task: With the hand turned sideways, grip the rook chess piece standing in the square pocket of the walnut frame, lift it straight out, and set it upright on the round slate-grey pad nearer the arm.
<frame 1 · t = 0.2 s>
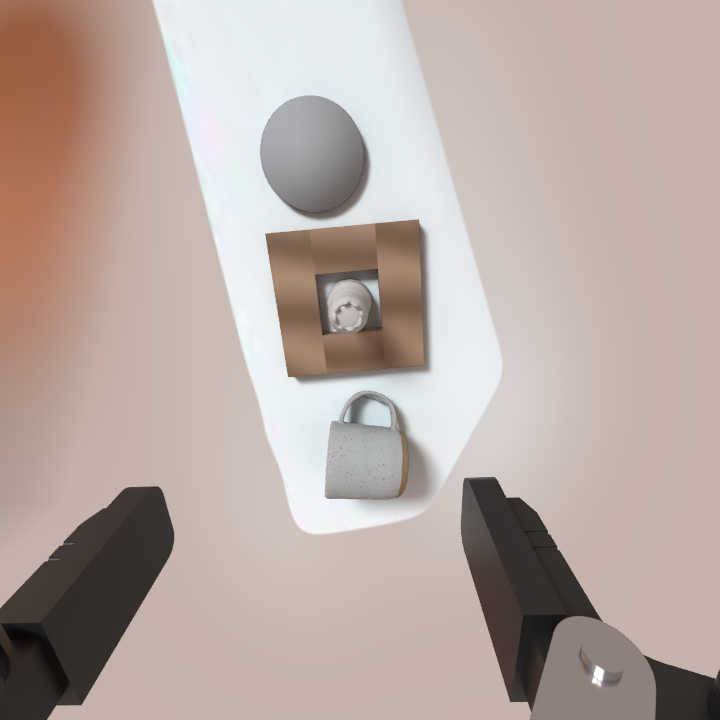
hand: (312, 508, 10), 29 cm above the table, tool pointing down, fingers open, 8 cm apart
walnut frame: (349, 301, 37), on the table
rook chess piece: (349, 300, 37), resting in walnut frame
slate-grey pad: (313, 158, 33), on the table
ceramic mug: (362, 430, 42), on the table
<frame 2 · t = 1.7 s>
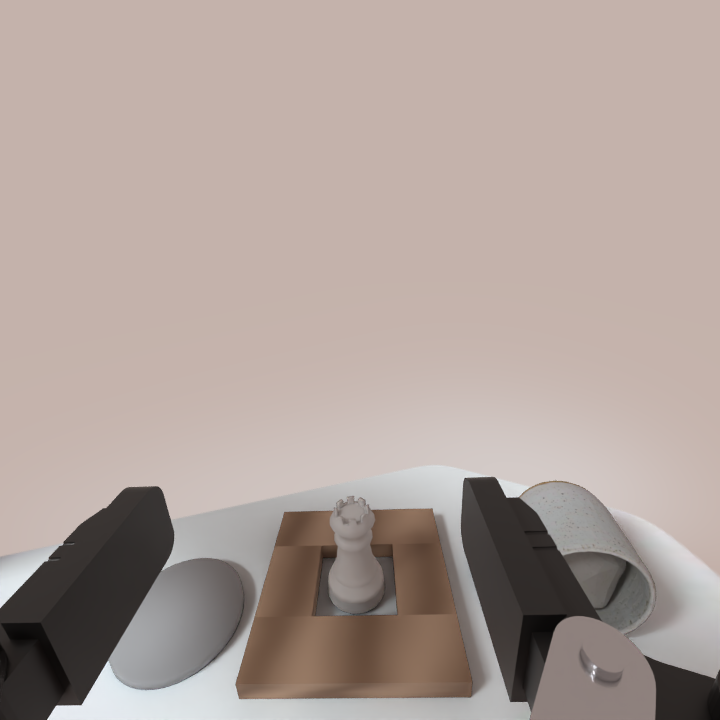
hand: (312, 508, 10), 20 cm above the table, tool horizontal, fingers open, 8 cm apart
walnut frame: (356, 589, 29), on the table
rook chess piece: (356, 592, 29), resting in walnut frame
slate-grey pad: (180, 617, 27), on the table
ceramic mug: (544, 588, 29), on the table
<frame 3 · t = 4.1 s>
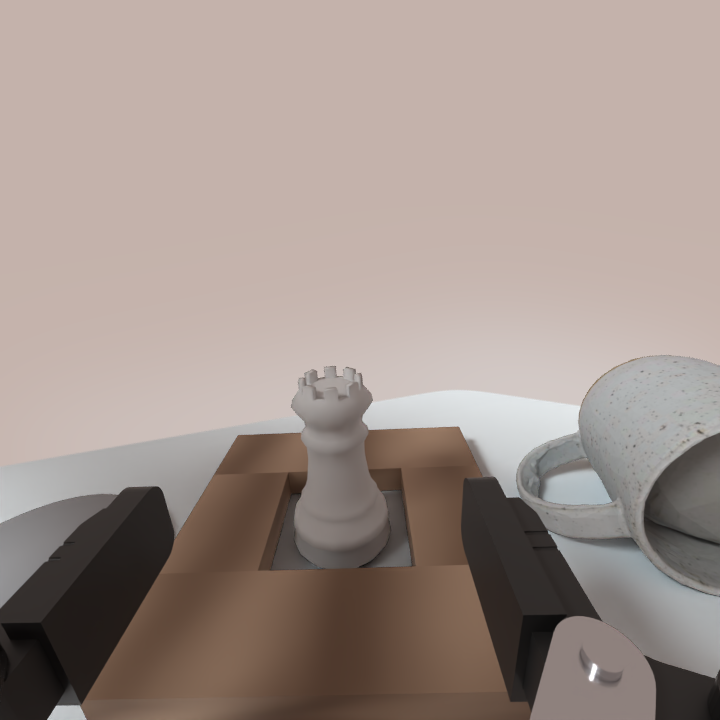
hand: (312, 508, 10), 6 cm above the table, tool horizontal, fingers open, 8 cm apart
walnut frame: (343, 535, 17), on the table
rook chess piece: (343, 538, 17), resting in walnut frame
slate-grey pad: (35, 581, 16), on the table
ceramic mug: (641, 526, 17), on the table
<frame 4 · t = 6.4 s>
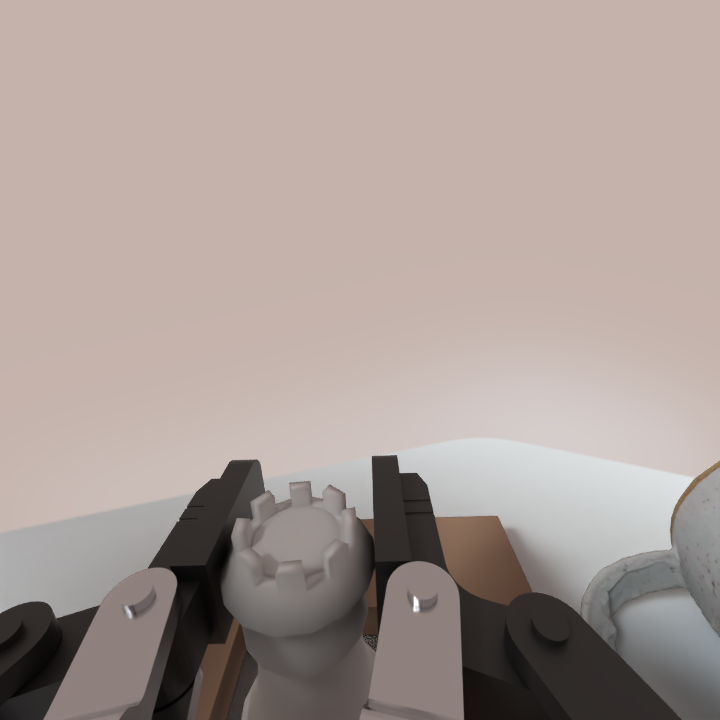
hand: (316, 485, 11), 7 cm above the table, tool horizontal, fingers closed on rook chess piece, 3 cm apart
when the fingers open (8 cm above the table, at t = 11.5 s): rook chess piece stays where it is, resting on slate-grey pad.
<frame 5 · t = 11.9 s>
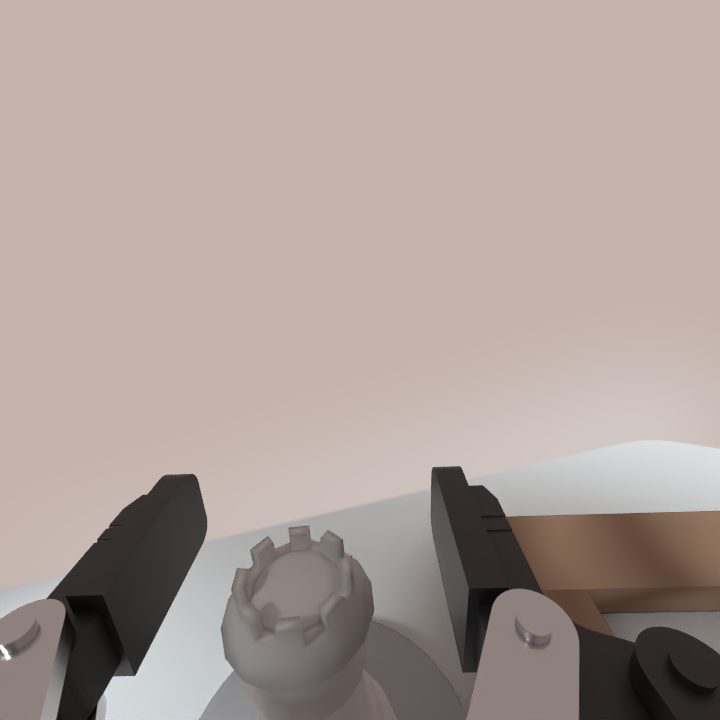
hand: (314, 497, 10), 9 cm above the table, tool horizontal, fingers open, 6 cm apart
walnut frame: (719, 699, 12), on the table
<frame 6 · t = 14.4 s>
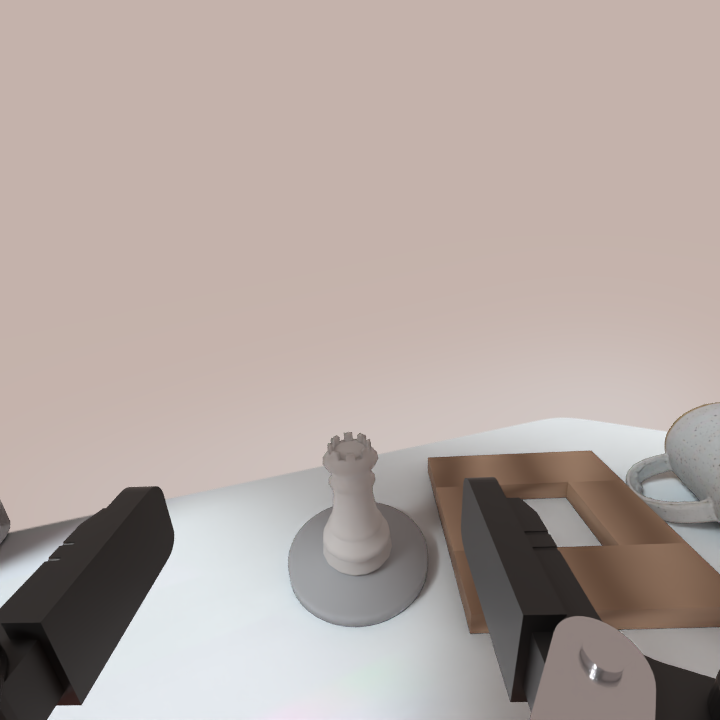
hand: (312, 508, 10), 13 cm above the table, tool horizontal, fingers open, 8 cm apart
walnut frame: (544, 528, 26), on the table
rook chess piece: (358, 552, 24), point 1 cm above the table, touching slate-grey pad
slate-grey pad: (358, 558, 24), on the table
ceramic mug: (716, 516, 26), on the table
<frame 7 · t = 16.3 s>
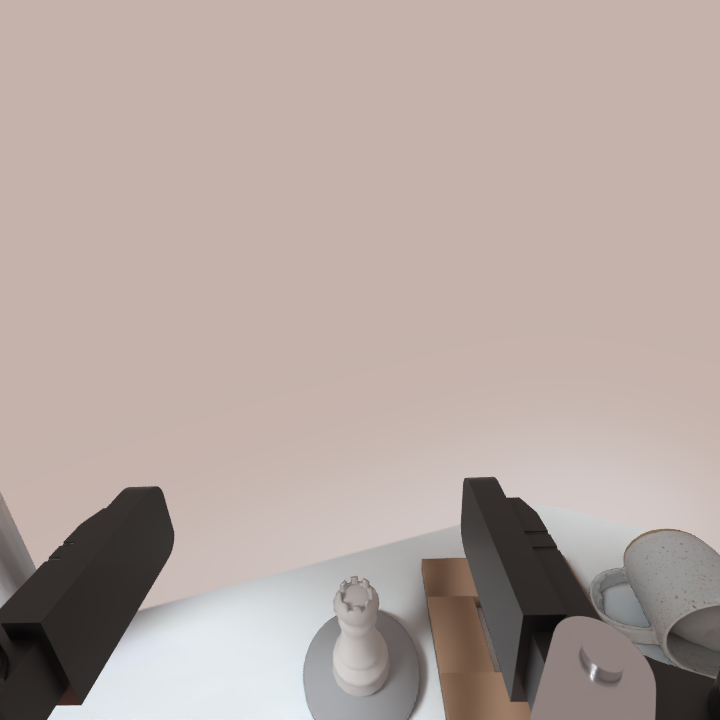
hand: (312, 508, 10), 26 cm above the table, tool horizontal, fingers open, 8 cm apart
walnut frame: (518, 641, 31), on the table
rook chess piece: (361, 668, 29), point 1 cm above the table, touching slate-grey pad
slate-grey pad: (361, 671, 29), on the table
ceramic mug: (662, 629, 31), on the table
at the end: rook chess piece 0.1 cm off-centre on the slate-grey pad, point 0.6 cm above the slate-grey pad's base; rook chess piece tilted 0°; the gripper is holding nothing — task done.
